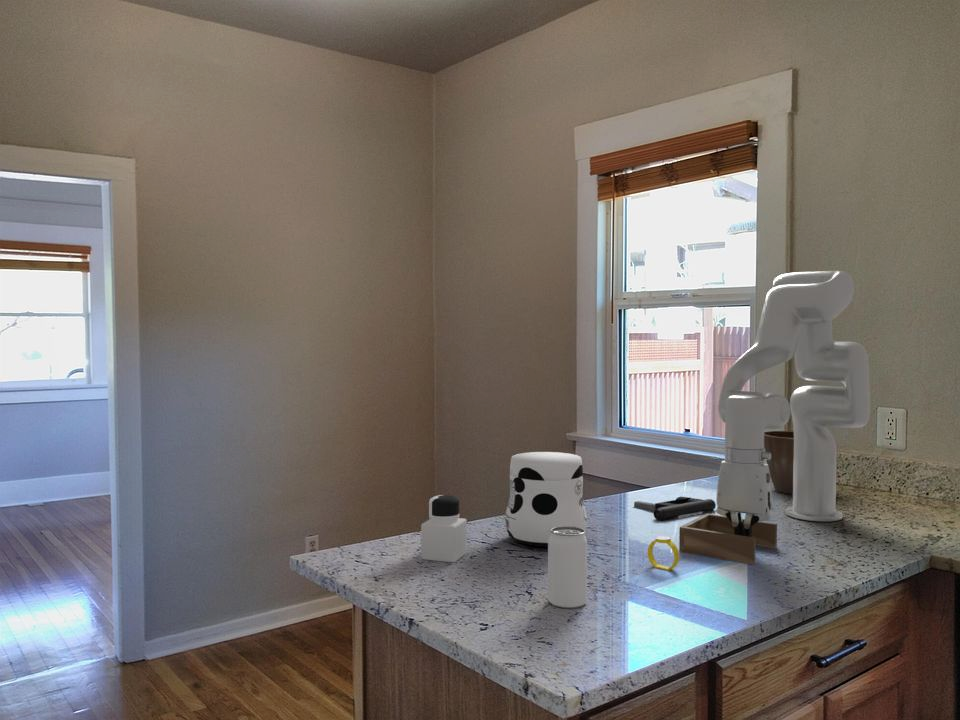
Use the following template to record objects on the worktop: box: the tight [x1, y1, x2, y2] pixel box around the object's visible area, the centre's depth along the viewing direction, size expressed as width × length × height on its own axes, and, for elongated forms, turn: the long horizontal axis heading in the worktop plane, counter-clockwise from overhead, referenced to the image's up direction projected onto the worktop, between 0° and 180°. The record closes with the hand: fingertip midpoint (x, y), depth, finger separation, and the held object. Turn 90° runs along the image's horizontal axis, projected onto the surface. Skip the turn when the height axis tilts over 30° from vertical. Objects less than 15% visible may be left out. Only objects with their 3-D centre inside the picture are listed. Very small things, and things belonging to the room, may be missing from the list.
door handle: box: [633, 496, 717, 521], centre depth 196 cm, size 3×20×16 cm
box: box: [678, 512, 778, 565], centre depth 161 cm, size 15×15×5 cm
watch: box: [647, 535, 680, 572], centre depth 149 cm, size 6×3×6 cm, turn 48°
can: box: [547, 526, 588, 609], centre depth 130 cm, size 6×6×12 cm
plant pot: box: [764, 430, 794, 495], centre depth 219 cm, size 15×15×16 cm
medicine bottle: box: [420, 494, 468, 564], centre depth 156 cm, size 7×7×12 cm
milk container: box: [504, 451, 588, 547], centre depth 167 cm, size 17×17×18 cm
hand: (742, 545), depth 159 cm, fingers closed
